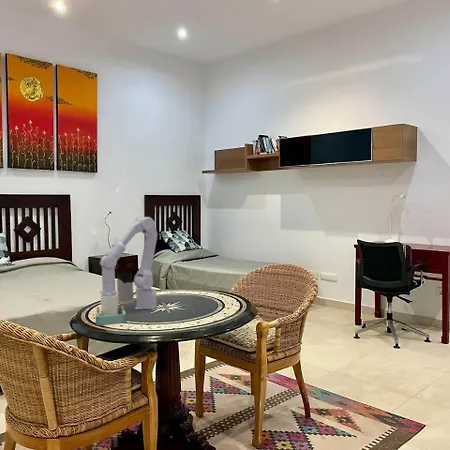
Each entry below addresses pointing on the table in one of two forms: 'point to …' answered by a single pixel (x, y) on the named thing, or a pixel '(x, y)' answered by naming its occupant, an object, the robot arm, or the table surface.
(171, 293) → the table surface
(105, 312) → the white cup
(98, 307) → the holster cradle
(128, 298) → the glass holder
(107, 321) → the tray
